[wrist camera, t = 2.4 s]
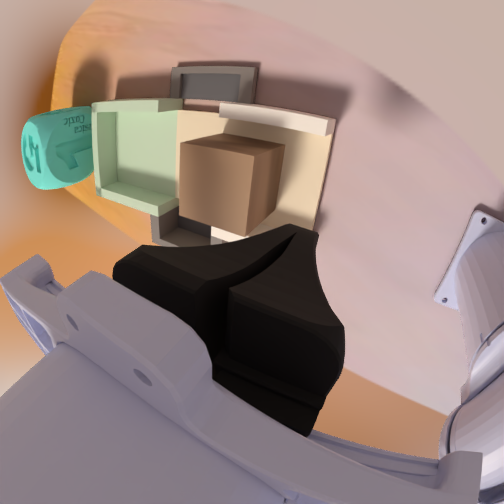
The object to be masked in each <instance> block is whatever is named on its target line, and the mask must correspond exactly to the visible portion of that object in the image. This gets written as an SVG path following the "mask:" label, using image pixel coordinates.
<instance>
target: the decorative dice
mask: <svg viewBox="0 0 504 504" xmlns="http://www.w3.org/2000/svg"><path fill="white" fill-rule="evenodd" d="M21 146H22V157H23V163H24V166H25V170H26V173H27V175H28V178H29V179H30V181H31V183H32V184H33V185H34V186H35V187H37V188H40V189H56V188H62V187H66V186H69V185H72V184H75V183H78V182H80V181H82V180H84V179H86V178H87V177H89V176H90V175H91V173H92V172H93V171H94V163H93V147H92V108H91V107H90V106H80V107H71V108H65V109H59V110H54V111H50V112H46V113H42V114H39V115H36V116H33V117H31V118H29V120H28V121H27V123H26V124H25V126H24V128H23V132H22V140H21Z"/></svg>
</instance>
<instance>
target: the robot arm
mask: <svg viewBox="0 0 504 504" xmlns="http://www.w3.org/2000/svg"><path fill="white" fill-rule="evenodd" d="M484 217H485V218H486V220H485V222H481V220H482V218H484ZM318 238H319V235H318V233H317V232H315V231H312V230H309V229H306V228H303V227H299V226H296V225H293V224H290V223H289V224H285V225H283V226H280V227H277V228H275V229H272V230H269V231H266V232H263V233H261V234H258V235H254V236H251V237H248V238H244V239H241V240H237V241H232V242H227V243H222V244H214V245H205V246H193V247H166V246H152V245H141V246H140V247H138V248H137V249H135V250H134V251H132V252H131V253H129V254H128V255H126V256H125V257H123V258H122V259H121V260H119V261H118V262H116V264H115V266H114V268H113V275H112V276H113V279H111V278H110V277H108V276H106V275H104V274H101V273H98V272H94V271H89V272H88V273H87V274H85V275H84V276H82V277H81V278H80V279H78V280H77V281H75V282H74V283H72V284H71V285H69V286H68V287H67V288H64V287H63V286H62V285H61V284H60V283H58V282H57V281H56V280H55V279H54V275H53V272H52V269H51V267H50V265H49V263H48V262H47V261H46V260H45V259H43V258H42V257H41V256H40V255H39V254H36V255H35V256H33V257H32V258H30V259H28V260H27V261H25V262H24V263H22V264H21V265H19V266H18V267H16V268H15V269H13V270H12V271H10V272H9V273H7V274H6V275H5V276H3V277H2V278H0V283H1V286H2V288H3V290H4V292H5V295H6V296H7V299H8V301H9V303H10V305H11V307H12V309H13V311H14V312H15V314H16V316H17V318H18V320H19V321H20V323H21V324H22V326H23V327H24V328H25V330H26V331H27V332H28V334H29V335H30V336H31V337H32V339H33V340H34V341H35V343H36V344H37V345H38V347H39V348H40V349H41V350H42V352H43V353H44V354H45V355H46V356H45V357H44V358H42V359H41V360H40V361H39V362H38V363H37V364H36V365H35V366H34V367H32V368H31V369H30V370H29V371H28V372H27V373H26V374H25V375H24V376H22V377H21V378H20V379H19V380H18V381H17V382H16V383H15V384H14V385H13V386H12V387H11V388H10V389H9V390H8V391H6V392H5V393H4V394H3V395H2V396H1V397H0V504H504V222H502V221H500V220H498V219H497V218H495V217H493V216H491V215H489V214H487V213H485V212H483V211H481V210H475V211H474V212H473V214H472V216H471V219H470V221H469V224H468V226H467V229H466V231H465V233H464V236H463V238H462V240H461V242H460V245H459V247H458V249H457V251H456V253H455V255H454V258H453V260H452V262H451V264H450V266H449V268H448V270H447V272H446V274H445V276H444V277H443V279H442V281H441V283H440V285H439V287H438V289H437V290H436V292H435V294H434V301H435V302H436V303H439V304H441V305H444V306H447V307H449V308H452V309H455V310H457V311H459V313H460V318H461V323H462V329H463V334H464V341H465V347H466V355H467V363H468V372H469V377H468V379H467V381H466V383H465V384H464V385H463V386H462V387H461V405H460V406H458V407H457V408H456V409H455V410H453V411H452V412H451V413H450V415H449V416H448V418H447V419H446V421H445V423H444V425H443V428H442V431H441V435H440V440H439V460H438V459H430V458H424V457H417V456H411V455H406V454H400V453H396V452H391V451H387V450H382V449H378V448H373V447H370V446H366V445H362V444H358V443H355V442H350V441H348V440H344V439H341V438H338V437H334V436H331V435H328V434H325V433H322V432H319V431H316V430H313V426H314V424H315V422H316V419H317V416H318V414H319V411H320V410H321V409H322V407H323V405H324V402H325V399H326V396H327V395H328V393H329V392H330V390H331V389H332V387H333V386H334V384H335V383H336V381H337V379H338V378H339V376H340V374H341V372H342V369H343V364H344V357H345V331H344V326H343V324H342V323H341V322H340V320H339V319H338V317H337V316H336V315H335V313H334V312H333V311H332V309H331V307H330V305H329V303H328V301H327V299H326V297H325V294H324V292H323V289H322V286H321V283H320V280H319V276H318V271H317V265H316V245H317V242H318ZM443 298H447V299H446V300H442V299H443Z"/></svg>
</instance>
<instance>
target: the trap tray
mask: <svg viewBox="0 0 504 504" xmlns="http://www.w3.org/2000/svg"><path fill="white" fill-rule="evenodd" d="M257 74H258V68H255V67H239V66H189V67H172V73H171V86H170V98H134V99H115V100H107V101H101V102H95V103H92V147H93V163H94V175H95V185H96V194H97V195H98V196H100V197H103V198H106V199H109V200H112V201H115V202H117V203H120V204H123V205H126V206H129V207H132V208H134V209H137V210H140V211H143V212H146V213H149V214H150V217H151V231H152V242H154V243H156V244H158V245H161V246H166V247H193V246H205V245H214V244H222V243H227V242H232V241H237V240H241V239H244V238H248V237H251V236H254V235H258V234H261V233H263V232H266V231H269V230H272V229H275V228H277V227H280V226H283V225H285V224H289V223H290V224H293V225H296V226H299V227H303V228H306V229H309V230H312V231H313V227H314V223H315V218H316V214H317V210H318V205H319V201H320V197H321V192H322V188H323V183H324V178H325V174H326V169H327V164H328V159H329V154H330V149H331V144H332V139H333V133H334V128H335V123H336V119H333V118H329V117H325V116H320V115H316V114H311V113H306V112H301V111H295V110H290V109H284V108H278V107H271V106H265V105H257V104H254V99H255V91H256V82H257ZM183 99H203V100H218V101H229V102H238V103H220V108H219V113H217V112H207V111H196V110H182V109H183ZM221 133H225V134H232V135H238V136H243V137H249V138H254V139H260V140H265V141H270V142H275V143H279V144H284V145H285V151H284V158H283V164H282V171H281V177H280V183H279V190H278V196H277V202H276V208H275V210H274V211H273V212H272V213H271V214H270V215H269V216H268V217H267V218H266V219H265V220H263V221H262V222H261V223H260V224H259V225H258V226H257V227H256V228H255V229H254V230H252V231H251V232H250V233H249V234H248V235H247V236H246V237H242V236H239V235H236V234H233V233H230V232H227V231H225V230H222V229H219V228H216V227H213V226H210V225H207V224H204V223H201V222H198V221H195V220H192V219H189V218H186V217H183V216H180V215H179V167H180V143H181V142H185V141H189V140H193V139H198V138H202V137H206V136H211V135H216V134H221Z"/></svg>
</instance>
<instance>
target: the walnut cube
mask: <svg viewBox="0 0 504 504" xmlns="http://www.w3.org/2000/svg"><path fill="white" fill-rule="evenodd" d="M284 151H285V145H284V144H279V143H275V142H270V141H265V140H260V139H254V138H249V137H243V136H238V135H232V134H225V133H221V134H216V135H211V136H206V137H202V138H198V139H193V140H189V141H185V142H181V143H180V167H179V215H180V216H183V217H186V218H189V219H192V220H195V221H198V222H201V223H204V224H207V225H210V226H213V227H216V228H219V229H222V230H225V231H227V232H230V233H233V234H236V235H239V236H242V237H246V236H247V235H248V234H249V233H250V232H251V231H252V230H254V229H255V228H256V227H257V226H258V225H259V224H260V223H261V222H262V221H263V220H265V219H266V218H267V217H268V216H269V215H270V214H271V213H272V212H273V211H274V210H275V208H276V202H277V196H278V190H279V183H280V177H281V171H282V164H283V158H284Z"/></svg>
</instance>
